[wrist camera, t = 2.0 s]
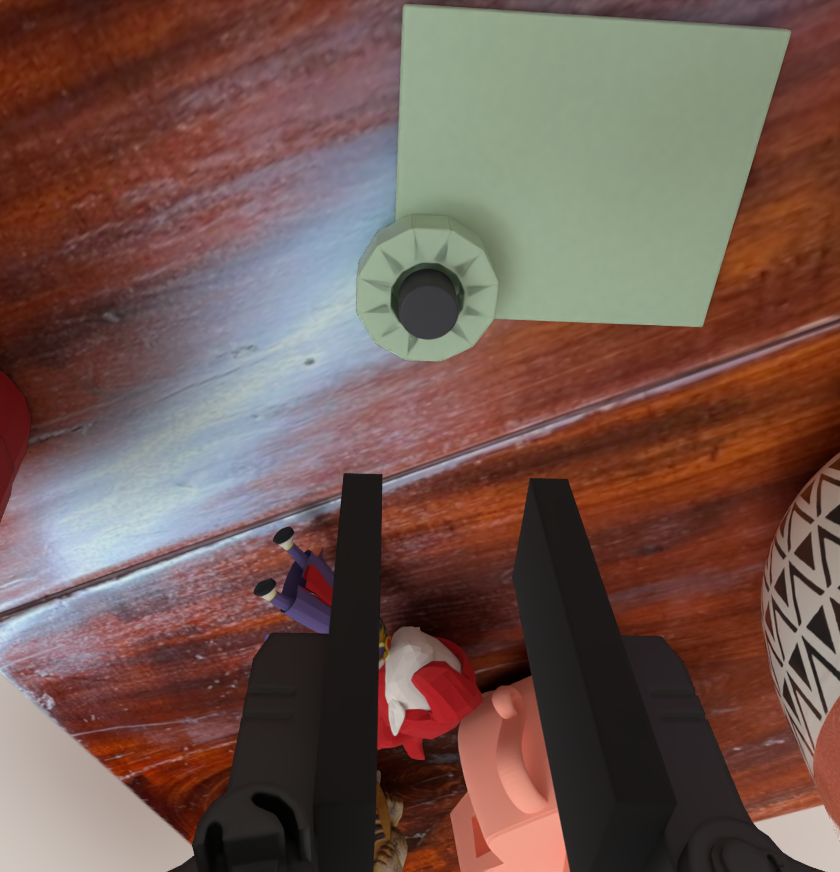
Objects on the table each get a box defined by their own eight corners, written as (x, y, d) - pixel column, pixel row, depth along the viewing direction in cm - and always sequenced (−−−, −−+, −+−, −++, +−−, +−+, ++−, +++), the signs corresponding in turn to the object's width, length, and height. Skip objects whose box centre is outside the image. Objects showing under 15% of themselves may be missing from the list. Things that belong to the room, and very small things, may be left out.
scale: (358, 329, 28) (356, 359, 26) (362, 0, 22) (358, 4, 20) (687, 342, 29) (711, 371, 27) (780, 27, 23) (819, 34, 21)
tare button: (397, 320, 25) (397, 339, 24) (399, 266, 24) (400, 283, 23) (453, 322, 26) (456, 341, 24) (457, 269, 24) (461, 286, 23)
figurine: (342, 480, 31) (524, 653, 38) (216, 540, 35) (402, 686, 42) (304, 603, 26) (521, 774, 33) (164, 655, 30) (384, 798, 37)
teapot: (684, 645, 39) (761, 822, 31) (607, 768, 45) (655, 942, 37) (481, 620, 37) (507, 800, 29) (431, 752, 44) (441, 930, 36)
